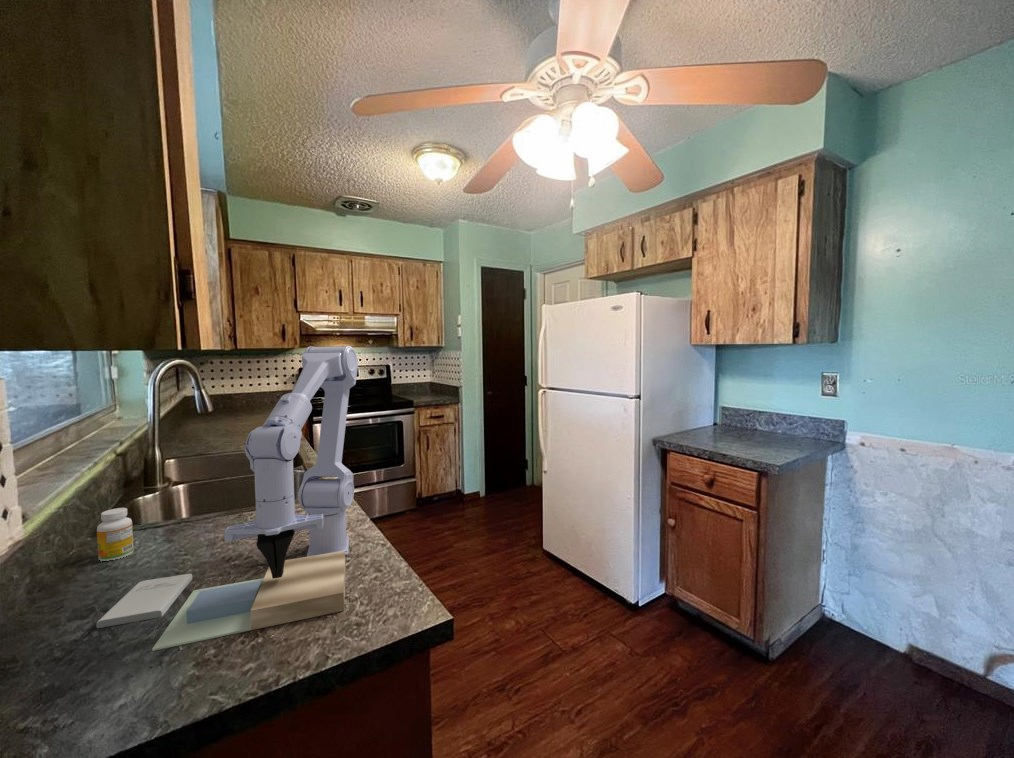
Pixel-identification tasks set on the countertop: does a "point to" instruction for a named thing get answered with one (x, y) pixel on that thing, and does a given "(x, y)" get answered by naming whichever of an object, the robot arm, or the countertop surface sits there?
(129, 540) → the supplement bottle
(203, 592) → the blue flat block
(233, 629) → the mat
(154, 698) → the countertop surface
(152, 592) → the external hard drive
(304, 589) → the board
